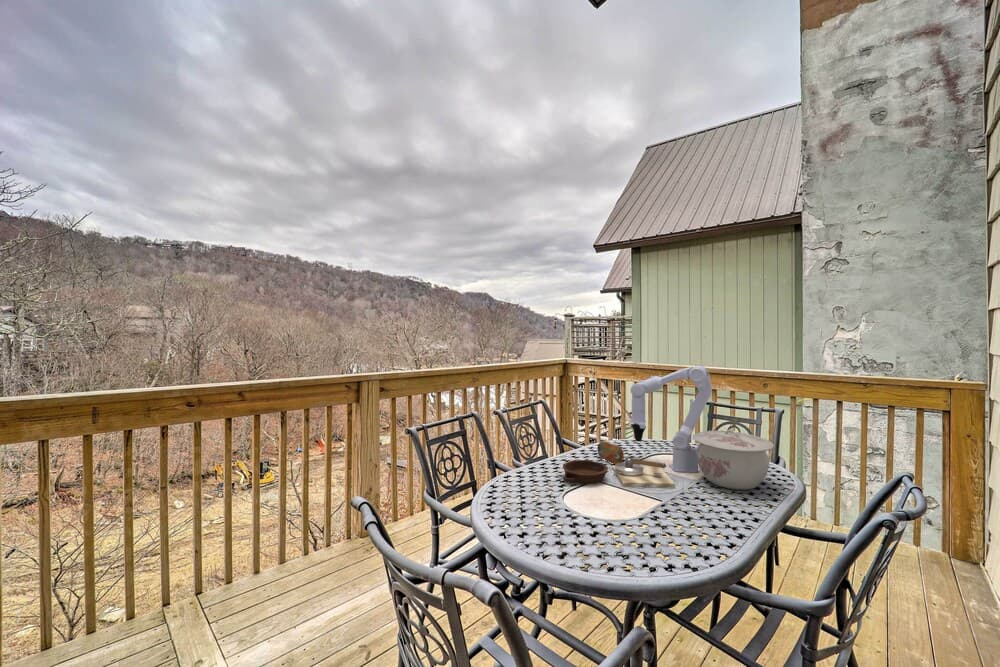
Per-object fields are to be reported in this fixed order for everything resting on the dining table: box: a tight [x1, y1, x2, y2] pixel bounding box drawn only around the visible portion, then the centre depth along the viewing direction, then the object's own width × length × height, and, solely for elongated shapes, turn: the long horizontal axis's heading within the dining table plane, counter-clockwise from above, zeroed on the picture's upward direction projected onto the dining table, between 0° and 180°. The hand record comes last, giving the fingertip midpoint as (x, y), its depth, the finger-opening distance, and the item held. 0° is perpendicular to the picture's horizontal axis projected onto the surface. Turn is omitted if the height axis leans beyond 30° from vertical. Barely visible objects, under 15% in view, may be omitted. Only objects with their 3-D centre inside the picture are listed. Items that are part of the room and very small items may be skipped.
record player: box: [612, 464, 676, 488], centre depth 171 cm, size 19×20×2 cm
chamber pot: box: [692, 429, 775, 491], centre depth 165 cm, size 28×28×21 cm
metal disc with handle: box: [614, 457, 667, 476], centre depth 172 cm, size 20×11×5 cm, turn 63°
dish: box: [562, 459, 609, 485], centre depth 171 cm, size 18×22×5 cm
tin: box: [597, 440, 625, 465], centre depth 191 cm, size 15×3×8 cm, turn 25°
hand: (638, 440), depth 190 cm, fingers closed
